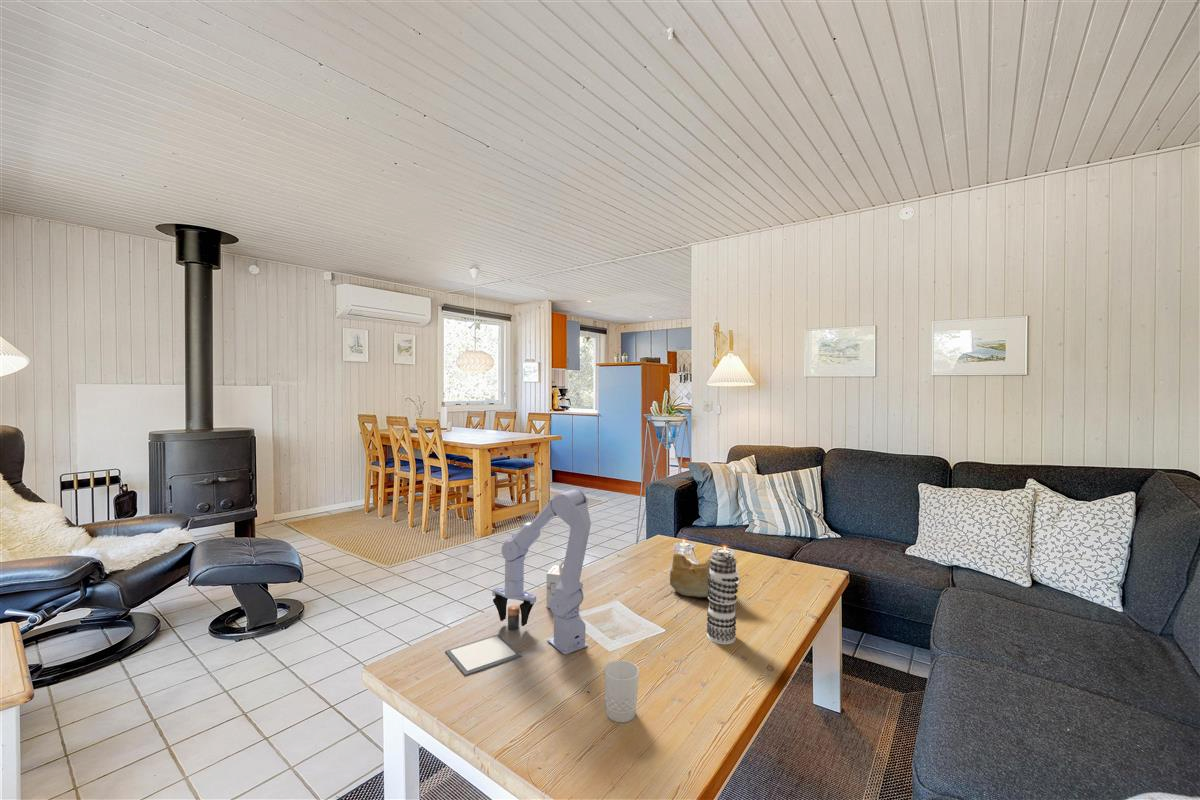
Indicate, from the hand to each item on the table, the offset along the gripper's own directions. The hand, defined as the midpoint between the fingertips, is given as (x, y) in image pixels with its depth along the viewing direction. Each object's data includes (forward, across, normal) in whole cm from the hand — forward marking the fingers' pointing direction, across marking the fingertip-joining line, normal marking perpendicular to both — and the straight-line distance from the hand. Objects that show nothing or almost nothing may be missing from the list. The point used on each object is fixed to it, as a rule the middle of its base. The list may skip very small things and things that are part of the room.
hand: (513, 622), depth 151 cm
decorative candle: (+2, -60, -21) cm, 63 cm away
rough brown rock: (+2, -49, -51) cm, 71 cm away
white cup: (+2, -44, +24) cm, 50 cm away
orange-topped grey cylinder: (+2, 0, 0) cm, 2 cm away
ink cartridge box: (+2, -4, -21) cm, 21 cm away
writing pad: (+2, -1, +17) cm, 17 cm away
